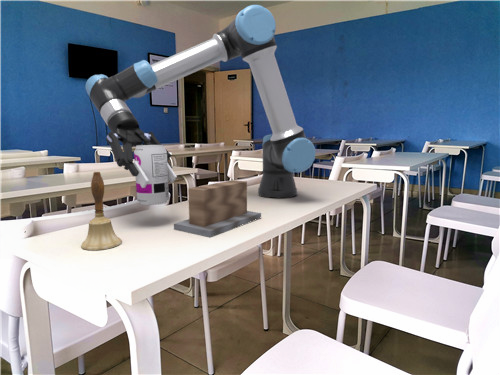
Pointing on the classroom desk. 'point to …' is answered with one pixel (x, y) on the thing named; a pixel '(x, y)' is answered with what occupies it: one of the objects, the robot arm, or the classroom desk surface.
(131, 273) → the classroom desk surface
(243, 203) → the stand
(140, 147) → the supplement can
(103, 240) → the hand bell
